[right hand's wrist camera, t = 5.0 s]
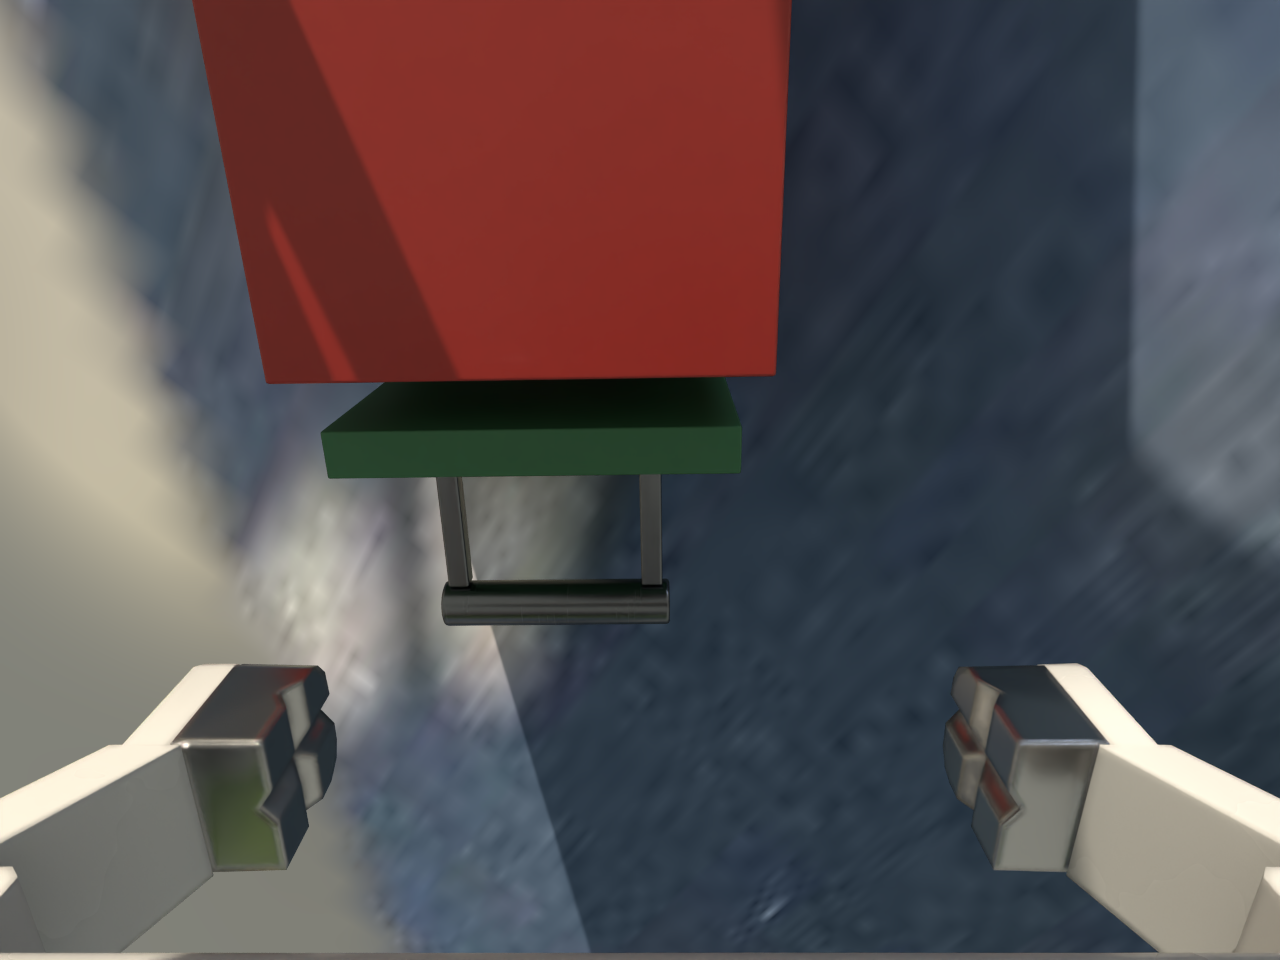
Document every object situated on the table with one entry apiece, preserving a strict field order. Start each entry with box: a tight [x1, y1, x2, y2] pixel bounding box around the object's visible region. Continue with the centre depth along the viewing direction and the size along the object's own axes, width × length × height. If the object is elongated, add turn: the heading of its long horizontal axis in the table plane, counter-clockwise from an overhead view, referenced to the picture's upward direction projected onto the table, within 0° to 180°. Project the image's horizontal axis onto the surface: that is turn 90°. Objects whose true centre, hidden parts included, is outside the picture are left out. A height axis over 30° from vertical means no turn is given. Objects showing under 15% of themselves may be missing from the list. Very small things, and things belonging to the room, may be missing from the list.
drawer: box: [321, 377, 742, 626], centre depth 20 cm, size 26×10×8 cm, turn 1°
